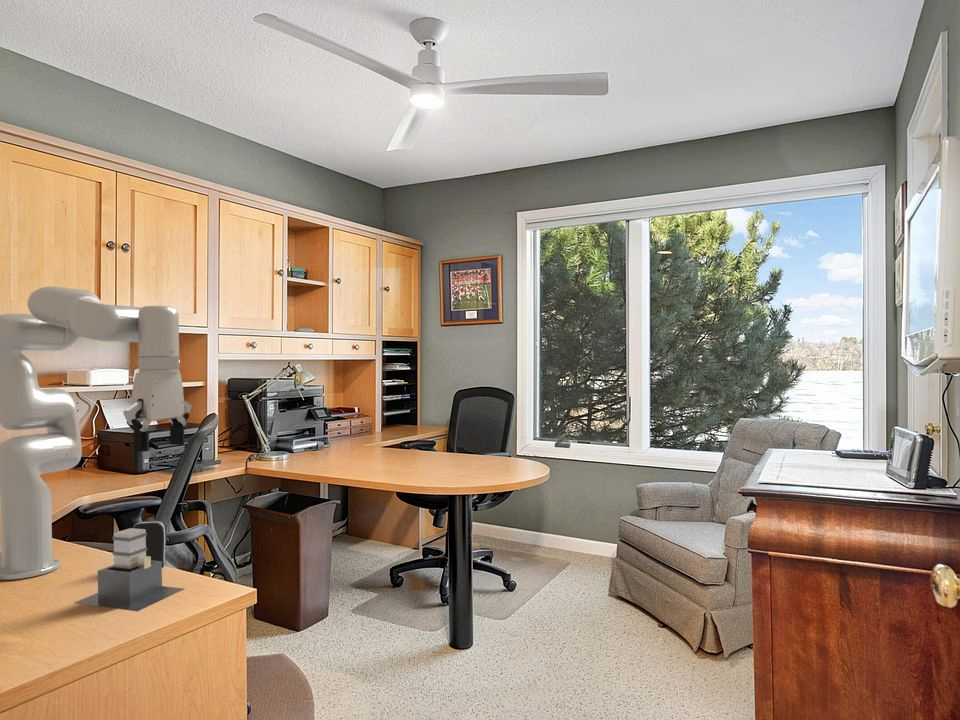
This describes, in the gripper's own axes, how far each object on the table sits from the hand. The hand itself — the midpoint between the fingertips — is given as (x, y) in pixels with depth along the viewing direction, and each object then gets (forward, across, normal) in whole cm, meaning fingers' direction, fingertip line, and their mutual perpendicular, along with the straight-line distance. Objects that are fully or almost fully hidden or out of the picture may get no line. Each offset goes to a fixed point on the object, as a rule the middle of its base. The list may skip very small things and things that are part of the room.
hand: (160, 447), depth 130 cm
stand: (+30, +4, -3) cm, 31 cm away
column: (+29, +4, -3) cm, 30 cm away
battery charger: (+31, -12, -14) cm, 36 cm away
